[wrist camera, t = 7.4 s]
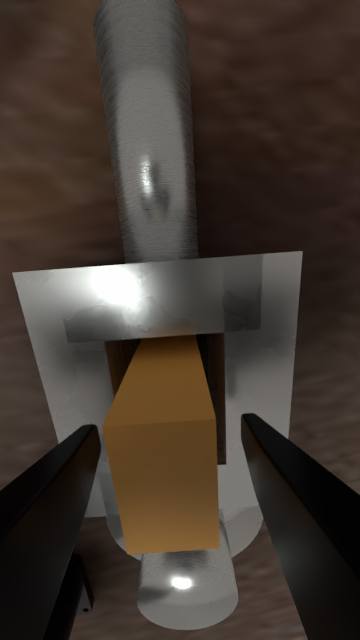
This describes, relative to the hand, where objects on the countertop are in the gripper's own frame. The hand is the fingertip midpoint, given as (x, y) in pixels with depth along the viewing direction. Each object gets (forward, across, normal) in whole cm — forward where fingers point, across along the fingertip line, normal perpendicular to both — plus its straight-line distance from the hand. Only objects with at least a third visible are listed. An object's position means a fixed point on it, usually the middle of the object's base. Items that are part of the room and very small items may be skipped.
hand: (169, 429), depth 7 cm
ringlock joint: (+6, 0, 0) cm, 6 cm away
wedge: (+6, 0, 0) cm, 6 cm away
